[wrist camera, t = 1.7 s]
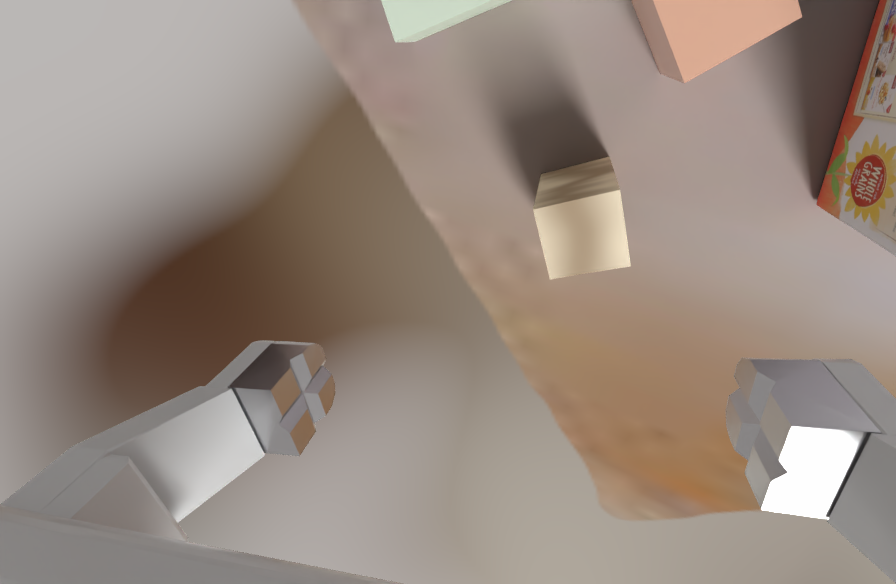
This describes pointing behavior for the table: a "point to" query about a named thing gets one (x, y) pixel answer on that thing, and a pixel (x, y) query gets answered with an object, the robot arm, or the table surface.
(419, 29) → the sage pedestal block
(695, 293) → the table surface
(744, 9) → the terracotta block
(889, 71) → the cracker box
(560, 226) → the beech block
